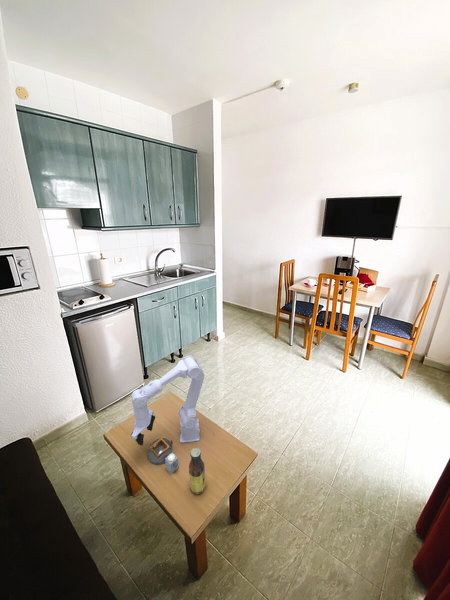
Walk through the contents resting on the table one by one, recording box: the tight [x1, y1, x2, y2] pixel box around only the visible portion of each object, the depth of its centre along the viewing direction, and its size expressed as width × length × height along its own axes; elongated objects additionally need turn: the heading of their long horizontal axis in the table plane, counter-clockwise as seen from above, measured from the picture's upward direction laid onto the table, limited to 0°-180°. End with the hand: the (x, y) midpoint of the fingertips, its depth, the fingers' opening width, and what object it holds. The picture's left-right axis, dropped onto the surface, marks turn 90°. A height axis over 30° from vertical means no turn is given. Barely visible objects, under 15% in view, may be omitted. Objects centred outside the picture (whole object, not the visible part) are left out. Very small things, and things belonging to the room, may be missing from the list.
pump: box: [164, 451, 180, 475], centre depth 107 cm, size 4×5×7 cm
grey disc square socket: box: [147, 437, 173, 466], centre depth 114 cm, size 12×11×4 cm
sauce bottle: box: [188, 447, 206, 495], centre depth 97 cm, size 7×6×20 cm
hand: (145, 436), depth 112 cm, fingers open, 7 cm apart
